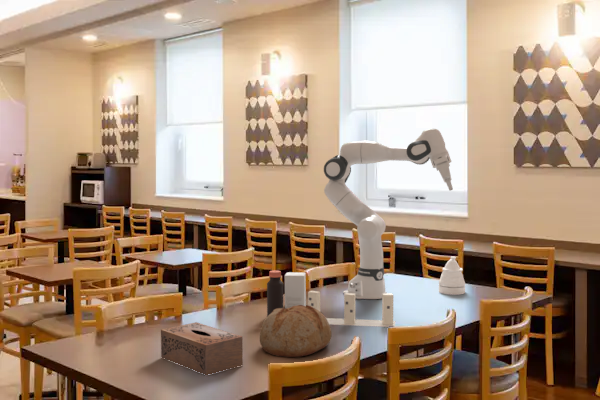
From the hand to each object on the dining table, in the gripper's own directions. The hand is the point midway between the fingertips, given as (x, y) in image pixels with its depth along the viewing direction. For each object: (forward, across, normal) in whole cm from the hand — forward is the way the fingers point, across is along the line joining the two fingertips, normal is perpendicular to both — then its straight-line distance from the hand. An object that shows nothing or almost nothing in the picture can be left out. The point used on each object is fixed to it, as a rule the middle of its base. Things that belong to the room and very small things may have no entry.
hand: (451, 189), depth 309 cm
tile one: (+46, +44, -41) cm, 76 cm away
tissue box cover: (+36, +106, -96) cm, 147 cm away
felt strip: (+42, +44, -56) cm, 83 cm away
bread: (+42, +83, -69) cm, 117 cm away
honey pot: (+47, -29, -16) cm, 57 cm away
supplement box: (+29, +21, -82) cm, 90 cm away
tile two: (+42, +47, -56) cm, 84 cm away
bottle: (+31, +45, -86) cm, 102 cm away
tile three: (+37, +46, -70) cm, 91 cm away
